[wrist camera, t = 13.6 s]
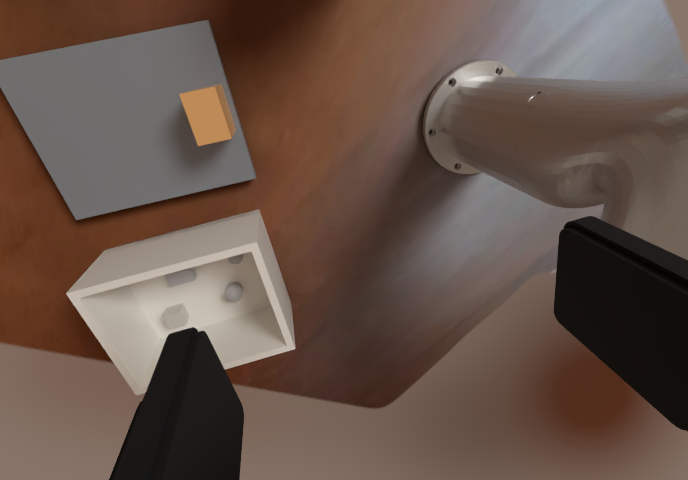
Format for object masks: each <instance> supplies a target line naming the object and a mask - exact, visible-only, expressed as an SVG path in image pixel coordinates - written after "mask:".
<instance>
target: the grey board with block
mask: <svg viewBox="0 0 688 480" xmlns="http://www.w3.org/2000/svg"><path fill="white" fill-rule="evenodd" d="M0 88H1V90H2V91H3V93H4V95H5V97H6V98H7V100H8V102H9V104H10V105H11V107H12V109H13V111H14V112H15V114H16V116H17V118H18V119H19V121H20V123H21V125H22V126H23V128H24V130H25V132H26V133H27V135H28V137H29V139H30V140H31V142H32V144H33V146H34V147H35V149H36V151H37V153H38V154H39V156H40V158H41V160H42V161H43V163H44V165H45V167H46V168H47V170H48V172H49V174H50V175H51V177H52V179H53V181H54V182H55V184H56V186H57V188H58V189H59V191H60V193H61V195H62V196H63V198H64V200H65V202H66V203H67V205H68V207H69V209H70V210H71V212H72V214H73V216H74V217H75V219H76V220H79V219H84V218H88V217H92V216H97V215H101V214H105V213H110V212H114V211H118V210H122V209H127V208H131V207H135V206H140V205H144V204H148V203H153V202H157V201H161V200H166V199H170V198H174V197H179V196H183V195H187V194H191V193H196V192H200V191H204V190H209V189H213V188H217V187H222V186H226V185H230V184H235V183H239V182H243V181H247V180H252V179H256V173H255V170H254V166H253V163H252V160H251V157H250V153H249V150H248V147H247V143H246V140H245V137H244V134H243V130H242V127H241V124H240V120H239V117H238V114H237V110H236V107H235V104H234V101H233V97H232V94H231V91H230V87H229V84H228V81H227V78H226V74H225V71H224V68H223V64H222V61H221V58H220V55H219V51H218V48H217V45H216V41H215V38H214V35H213V32H212V28H211V25H210V22H209V20H205V21H199V22H194V23H189V24H184V25H179V26H174V27H168V28H163V29H158V30H153V31H148V32H143V33H137V34H132V35H127V36H122V37H117V38H112V39H107V40H101V41H96V42H91V43H86V44H81V45H76V46H70V47H65V48H60V49H55V50H50V51H45V52H40V53H34V54H29V55H24V56H19V57H14V58H9V59H3V60H0Z"/></svg>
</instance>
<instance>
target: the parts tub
mask: <svg viewBox="0 0 688 480" xmlns="http://www.w3.org/2000/svg"><path fill="white" fill-rule="evenodd" d="M66 294H67V296H68V297H69V299H70V300H71V302H72V303H73V305H74V306H75V307H76V309H77V310H78V312H79V313H80V315H81V316H82V318H83V319H84V321H85V322H86V323H87V325H88V326H89V328H90V329H91V331H92V332H93V334H94V335H95V337H96V338H97V339H98V341H99V342H100V344H101V345H102V347H103V348H104V350H105V351H106V353H107V354H108V355H109V357H110V358H111V360H112V361H113V363H114V364H115V366H116V367H117V369H118V370H119V371H120V373H121V374H122V376H123V377H124V378H125V380H126V382H127V383H128V385H129V386H130V387H131V389H132V390H133V392H134V393H135V395H136V396H137V395H140V394H143V393H146V391H147V388H148V385H149V383H150V380H151V378H152V375H153V372H154V370H155V367H156V365H157V362H158V359H159V357H160V354H161V351H162V349H163V346H164V344H165V341H166V338H167V336H168V335H169V334H171V333H174V332H177V331H181V330H184V329H188V328H192V327H194V328H196V329H197V330H198V332H199V331H205V332H206V334H207V335H208V337H209V339H210V341H211V343H212V345H213V347H214V349H215V351H216V353H217V355H218V357H219V359H220V361H221V363H222V365H223V367H224V369H229V368H232V367H235V366H239V365H242V364H246V363H249V362H252V361H256V360H259V359H263V358H266V357H269V356H273V355H276V354H280V353H283V352H286V351H290V350H293V349H295V338H294V328H293V317H292V306H291V301H290V298H289V295H288V292H287V289H286V286H285V283H284V281H283V278H282V275H281V272H280V269H279V266H278V263H277V260H276V257H275V254H274V251H273V248H272V245H271V243H270V240H269V237H268V234H267V231H266V228H265V225H264V222H263V219H262V216H261V213H260V210H259V209H258V210H255V211H251V212H247V213H243V214H239V215H236V216H232V217H228V218H224V219H220V220H217V221H213V222H209V223H205V224H201V225H198V226H194V227H190V228H186V229H182V230H179V231H175V232H171V233H167V234H164V235H160V236H156V237H152V238H148V239H145V240H141V241H137V242H133V243H129V244H126V245H122V246H118V247H114V248H110V249H107V250H104V251H103V253H102V254H101V255H100V256H99V257H98V258H97V259H96V260H95V262H94V263H93V264H92V265H91V266H90V267H89V268H88V269H87V270H86V272H85V273H84V274H83V275H82V276H81V277H80V278H79V279H78V281H77V282H76V283H75V284H74V285H73V286H72V287H71V288H70V290H69V291H68V292H67V293H66Z"/></svg>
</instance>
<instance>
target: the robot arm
mask: <svg viewBox="0 0 688 480" xmlns="http://www.w3.org/2000/svg"><path fill="white" fill-rule="evenodd" d="M496 70H497V71H496ZM449 80H450V81H451V82H450V84H448V83H449ZM430 129H431V133H429V131H430ZM423 137H424V141H425V145H426V147H427V149H428V151H429V153H430V155H431V156H432V157H433V159H434V160H435V161H436V162H437V163H438V164H440V165H441V166H442V167H444V168H446V169H447V170H449V171H452V172H454V173H459V174H476V173H479V172H484V173H486V174H488V175H490V176H492V177H494V178H496V179H498V180H500V181H502V182H504V183H506V184H508V185H510V186H512V187H514V188H516V189H518V190H520V191H522V192H524V193H526V194H528V195H530V196H532V197H534V198H537V199H539V200H541V201H543V202H545V203H547V204H550V205H553V206H557V207H562V208H586V207H591V206H597V205H601V204H604V208H603V212H602V216H601V219H598V218H596V217H593V216H588V217H584V218H581V219H577V220H574V221H570V222H568V223H566V224H565V226H564V229H563V230H561V232H560V235H559V246H558V260H557V273H556V288H555V301H554V314H555V317H556V319H557V320H558V322H559V323H560V324H561V325H562V326H563V327H564V328H566V329H567V330H568V331H569V332H570V333H571V334H572V335H573V336H575V337H576V338H577V339H578V340H579V341H580V342H582V344H584V345H585V346H586V347H587V348H588V349H589V350H590V351H591V352H593V353H594V354H595V355H596V356H597V357H598V358H599V359H600V360H602V361H603V362H604V363H605V364H606V365H607V366H608V367H609V368H611V369H612V370H613V371H614V372H615V373H616V374H617V375H619V376H620V377H621V378H622V379H623V380H624V381H625V382H626V383H627V384H629V385H630V386H631V387H632V388H633V389H634V390H635V391H636V392H638V393H639V394H640V395H641V396H642V397H643V398H644V399H645V400H647V401H648V402H649V403H650V404H651V405H652V406H653V407H654V408H656V409H657V410H658V411H659V412H660V413H661V414H662V415H663V416H665V417H666V418H667V419H668V420H669V421H670V422H671V423H672V424H674V425H675V426H676V427H678V428H680V429H682V430H687V431H688V78H682V79H670V80H657V81H595V80H571V79H548V78H525V77H519V76H518V75H517V74H516V73H515V72H514V71H513V70H512V69H511V68H509V67H508V66H506V65H505V64H502V63H500V62H497V61H490V60H476V61H472V62H468V63H465V64H463V65H461V66H459V67H457V68H455V69H454V70H452V71H451V72H450V73H448V74H447V75H446V76H445V77H444V78H443V79H442V80H441V81H440V82H439V83H438V85H437V86H436V88H435V89H434V90H433V92H432V94H431V96H430V98H429V100H428V102H427V105H426V108H425V112H424V117H423ZM455 164H456V166H455ZM454 166H455V167H454ZM243 424H244V413H243V407H242V404H241V402H240V400H239V398H238V396H237V394H236V392H235V390H234V388H233V386H232V383H231V381H230V379H229V377H228V375H227V373H226V371H225V369H224V367H223V365H222V363H221V361H220V359H219V357H218V355H217V353H216V351H215V349H214V347H213V345H212V343H211V341H210V339H209V337H208V335H207V334H206V332H205V331H199V332H198V330H197V329H196V328H194V327H192V328H188V329H184V330H181V331H177V332H174V333H171V334H169V335H168V336H167V338H166V341H165V344H164V346H163V349H162V351H161V354H160V357H159V359H158V362H157V365H156V367H155V370H154V372H153V375H152V378H151V380H150V383H149V385H148V388H147V391H146V393H145V396H144V398H143V401H141V402H140V404H139V406H138V408H137V410H136V412H135V415H134V417H133V420H132V423H131V425H130V428H129V430H128V433H127V435H126V438H125V441H124V443H123V446H122V448H121V451H120V453H119V456H118V458H117V461H116V463H115V466H114V469H113V471H112V474H111V476H110V479H109V480H239V475H240V463H241V450H242V436H243Z"/></svg>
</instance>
